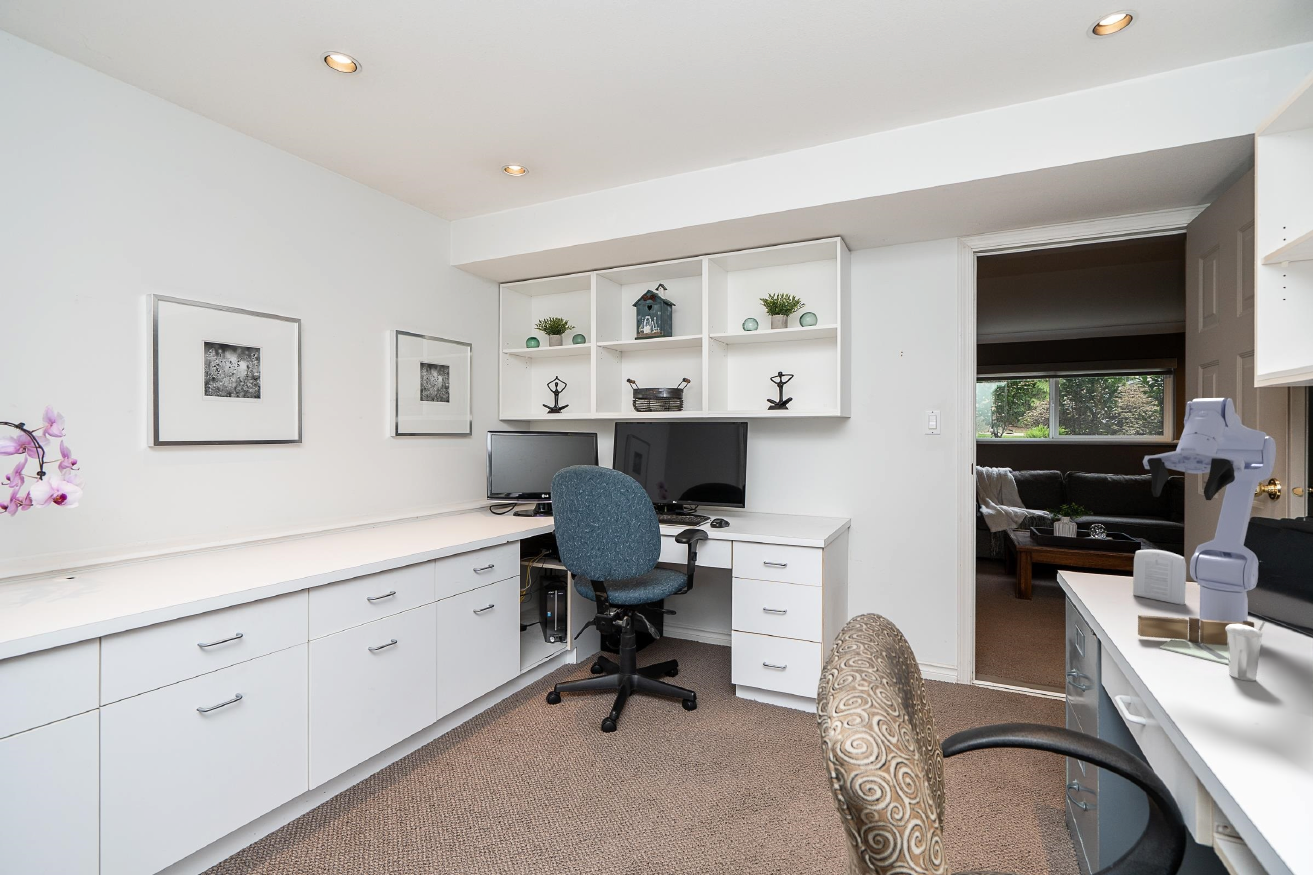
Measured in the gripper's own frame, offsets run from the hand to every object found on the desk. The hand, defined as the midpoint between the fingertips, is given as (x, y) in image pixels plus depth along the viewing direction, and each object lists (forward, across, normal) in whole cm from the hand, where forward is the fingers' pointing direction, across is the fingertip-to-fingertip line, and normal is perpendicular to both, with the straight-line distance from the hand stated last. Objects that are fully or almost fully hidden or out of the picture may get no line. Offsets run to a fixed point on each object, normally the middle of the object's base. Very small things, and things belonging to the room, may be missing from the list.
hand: (1180, 494), depth 112 cm
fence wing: (+15, -5, +27) cm, 31 cm away
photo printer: (-10, -17, +52) cm, 55 cm away
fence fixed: (+11, +2, +32) cm, 34 cm away
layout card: (+14, +1, +30) cm, 33 cm away
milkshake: (+23, +9, +21) cm, 32 cm away
